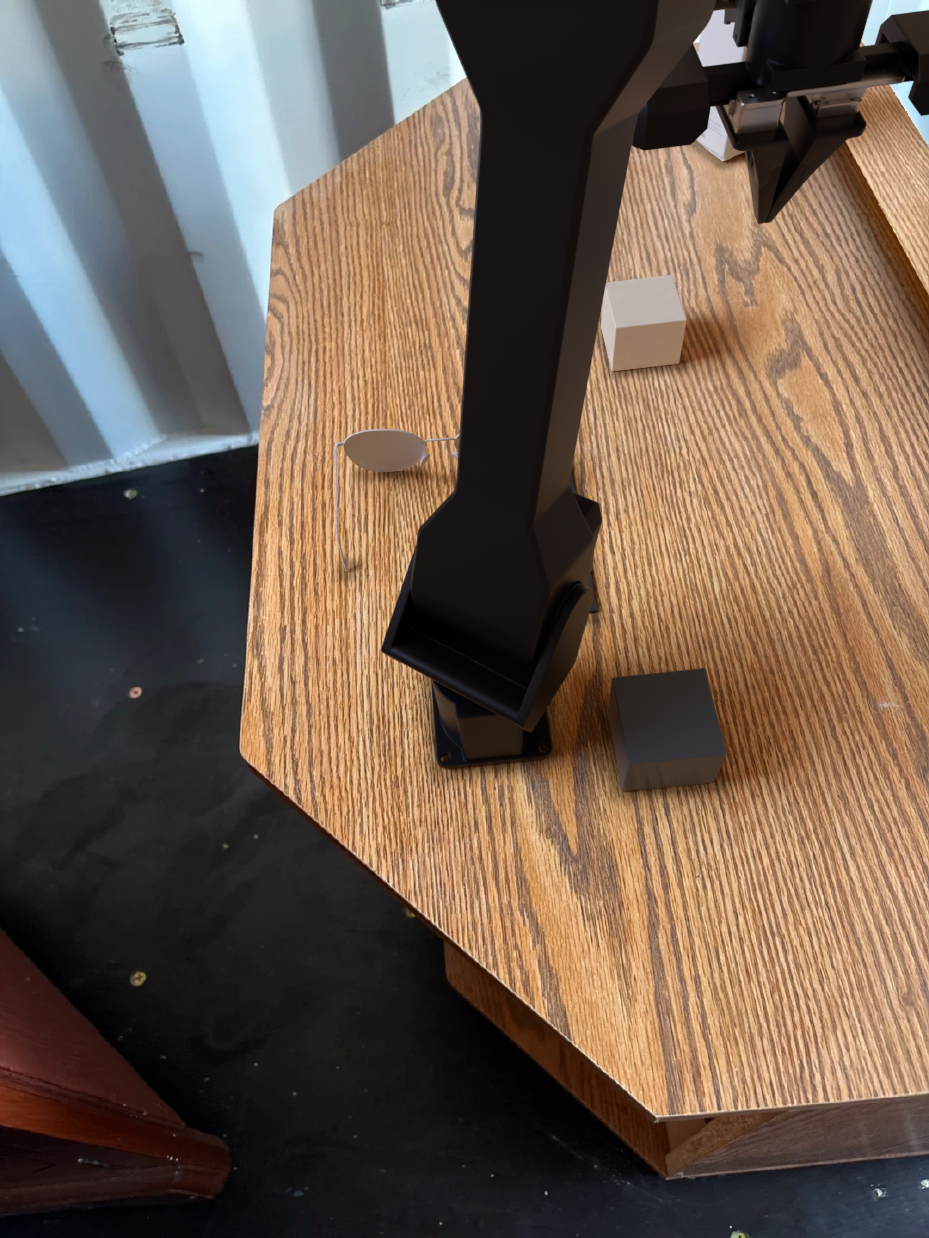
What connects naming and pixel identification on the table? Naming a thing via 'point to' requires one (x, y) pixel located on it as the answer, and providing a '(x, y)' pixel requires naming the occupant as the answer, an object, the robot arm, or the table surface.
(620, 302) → the cream block
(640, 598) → the table surface
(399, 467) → the sunglasses
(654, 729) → the slate block
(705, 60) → the cosmetic box
